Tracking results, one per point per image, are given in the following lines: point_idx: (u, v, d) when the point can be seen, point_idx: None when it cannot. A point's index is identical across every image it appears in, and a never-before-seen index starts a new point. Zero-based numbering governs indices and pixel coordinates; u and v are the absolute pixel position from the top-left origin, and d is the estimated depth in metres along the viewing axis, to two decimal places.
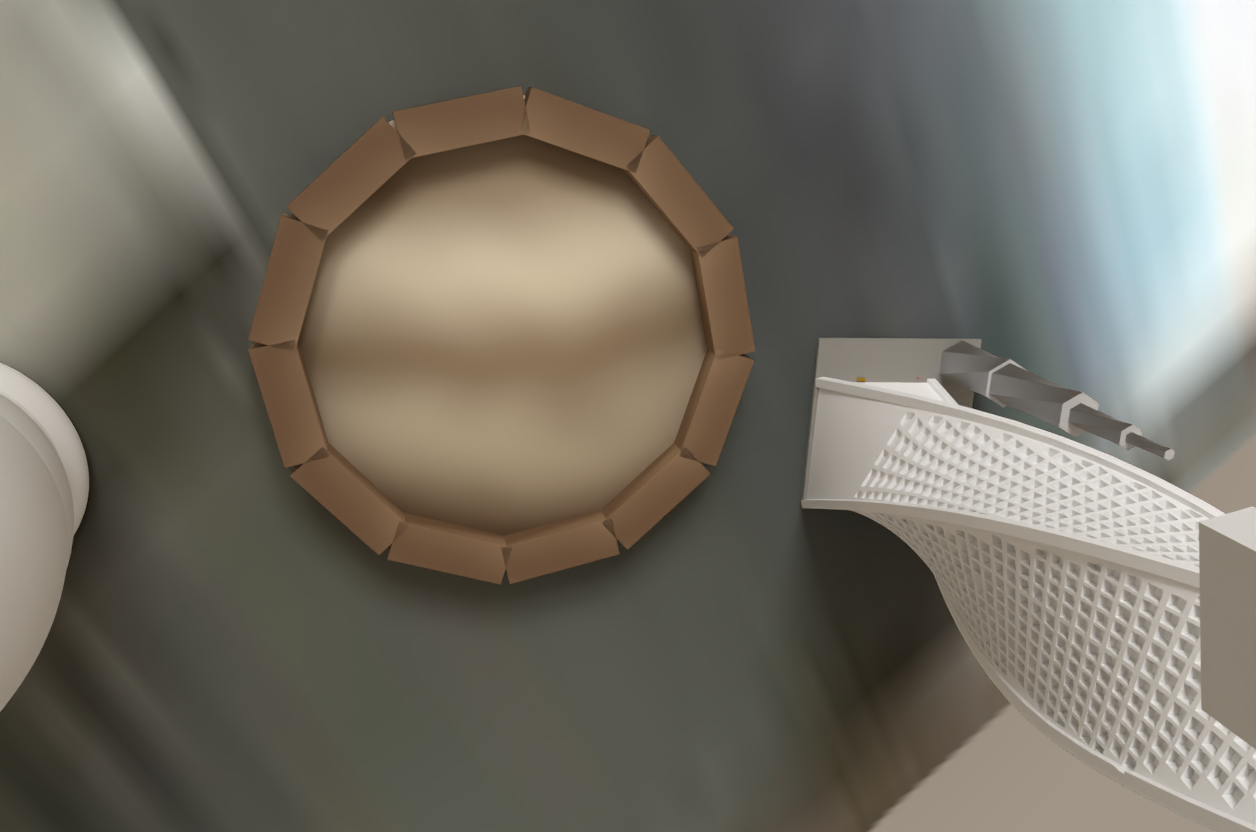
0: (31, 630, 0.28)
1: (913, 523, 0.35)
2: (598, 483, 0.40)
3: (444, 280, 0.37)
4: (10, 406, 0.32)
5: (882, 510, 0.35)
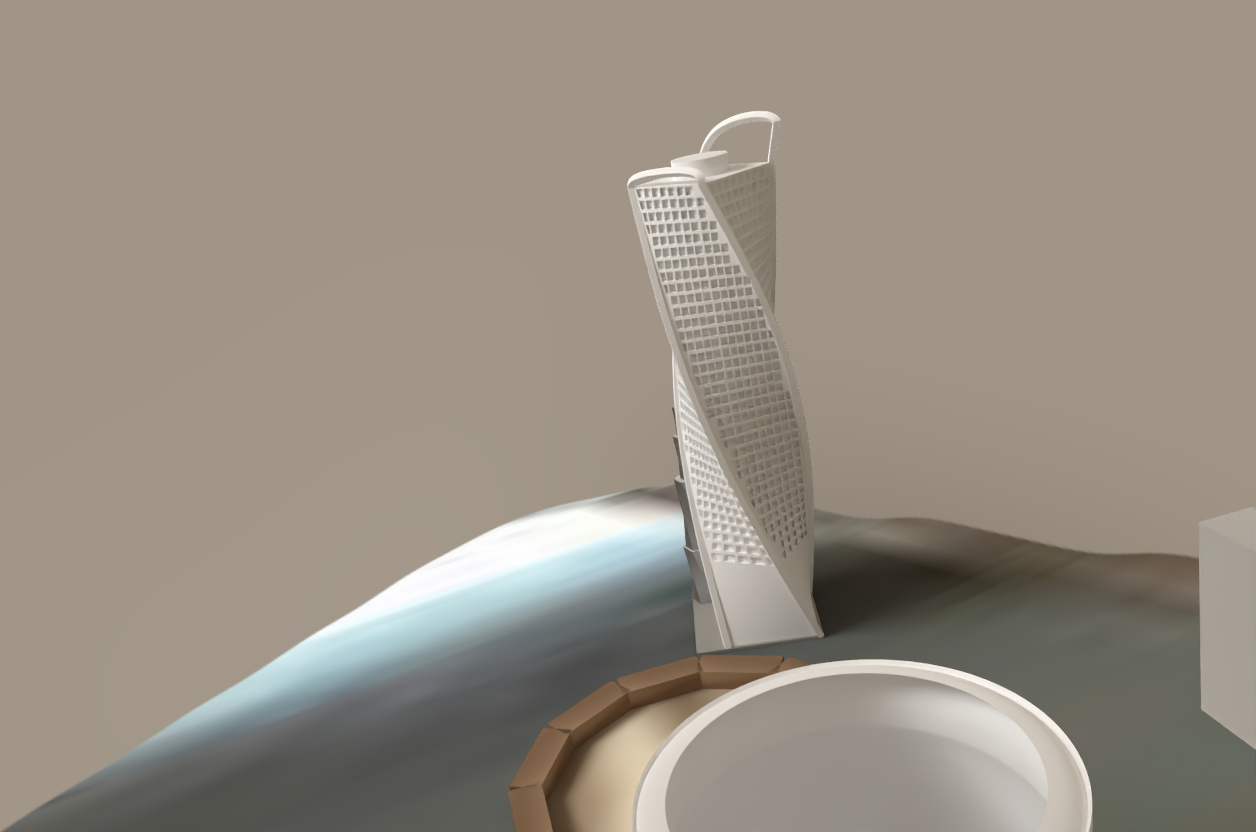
0: (868, 787, 0.31)
1: (751, 496, 0.56)
2: None
3: None
4: None
5: (753, 519, 0.56)
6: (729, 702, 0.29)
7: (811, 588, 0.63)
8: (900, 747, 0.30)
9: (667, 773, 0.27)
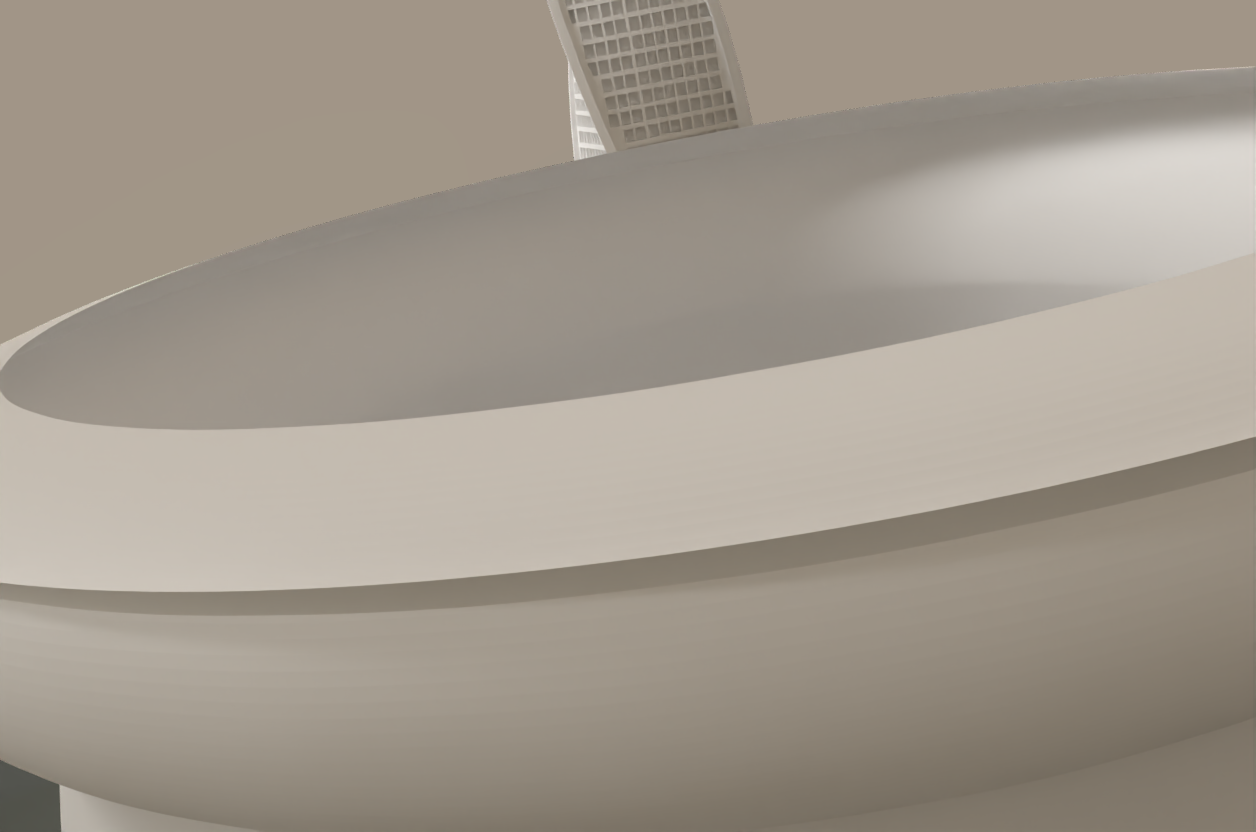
0: None
1: None
2: None
3: None
4: None
5: None
6: (439, 193, 0.11)
7: None
8: None
9: (175, 271, 0.09)
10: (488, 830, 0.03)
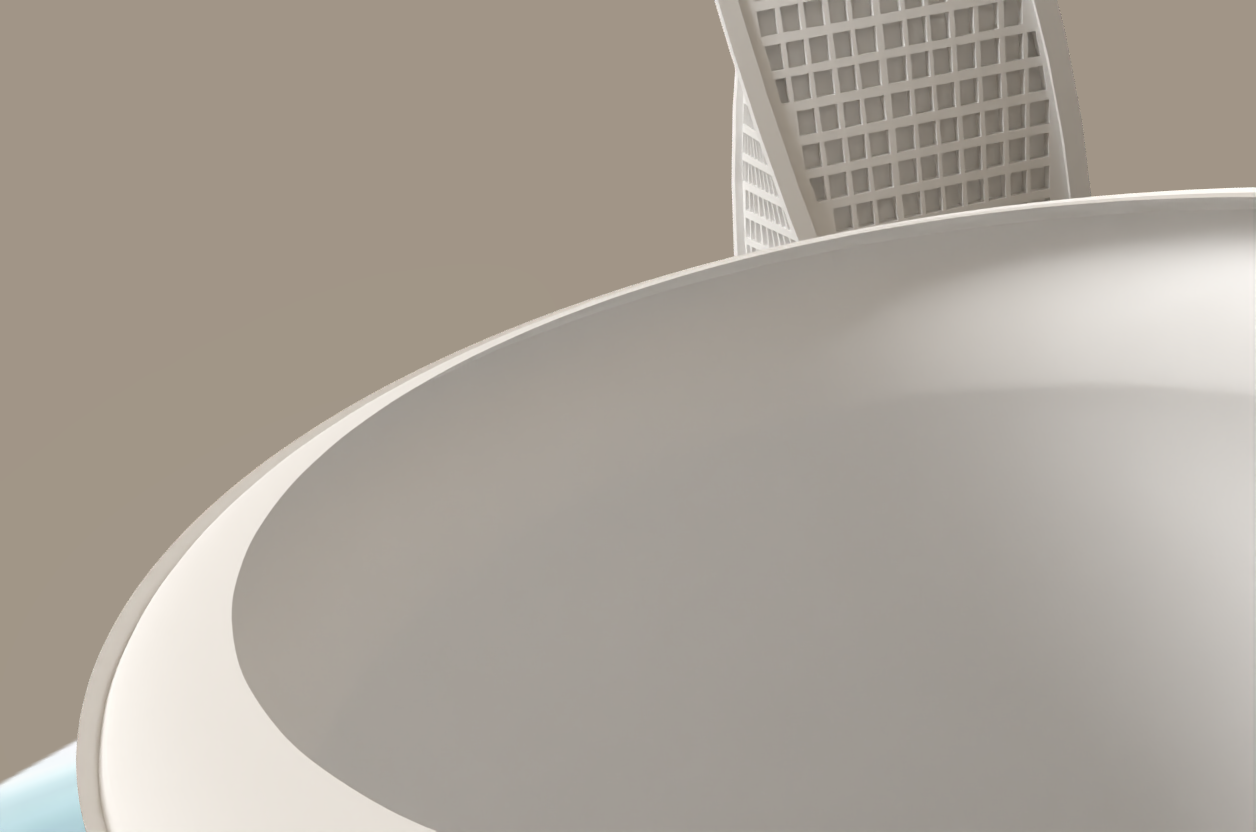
0: (934, 565, 0.13)
1: None
2: None
3: None
4: None
5: None
6: (566, 310, 0.11)
7: None
8: (1018, 446, 0.12)
9: (330, 440, 0.08)
10: None
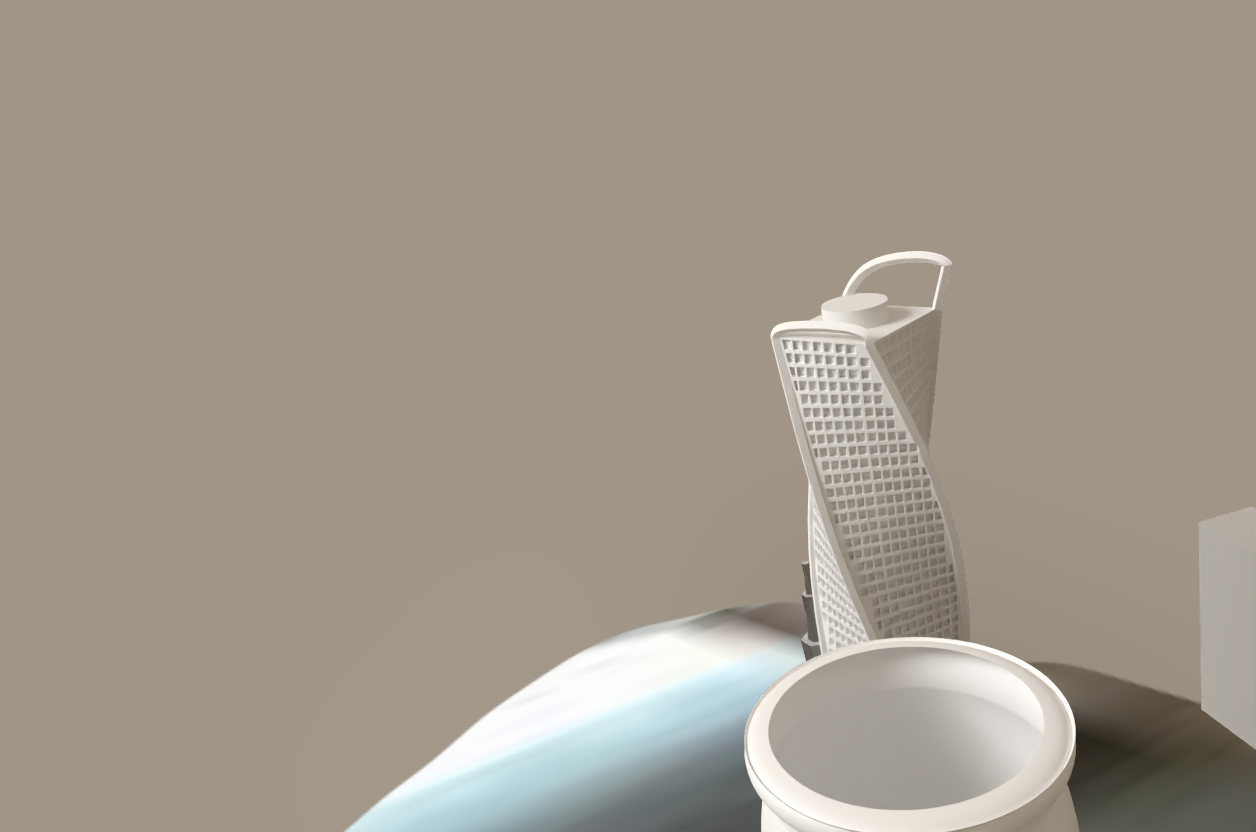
0: (921, 734, 0.41)
1: None
2: None
3: None
4: None
5: None
6: (816, 664, 0.39)
7: None
8: (946, 704, 0.40)
9: (770, 710, 0.37)
10: None
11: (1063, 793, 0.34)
